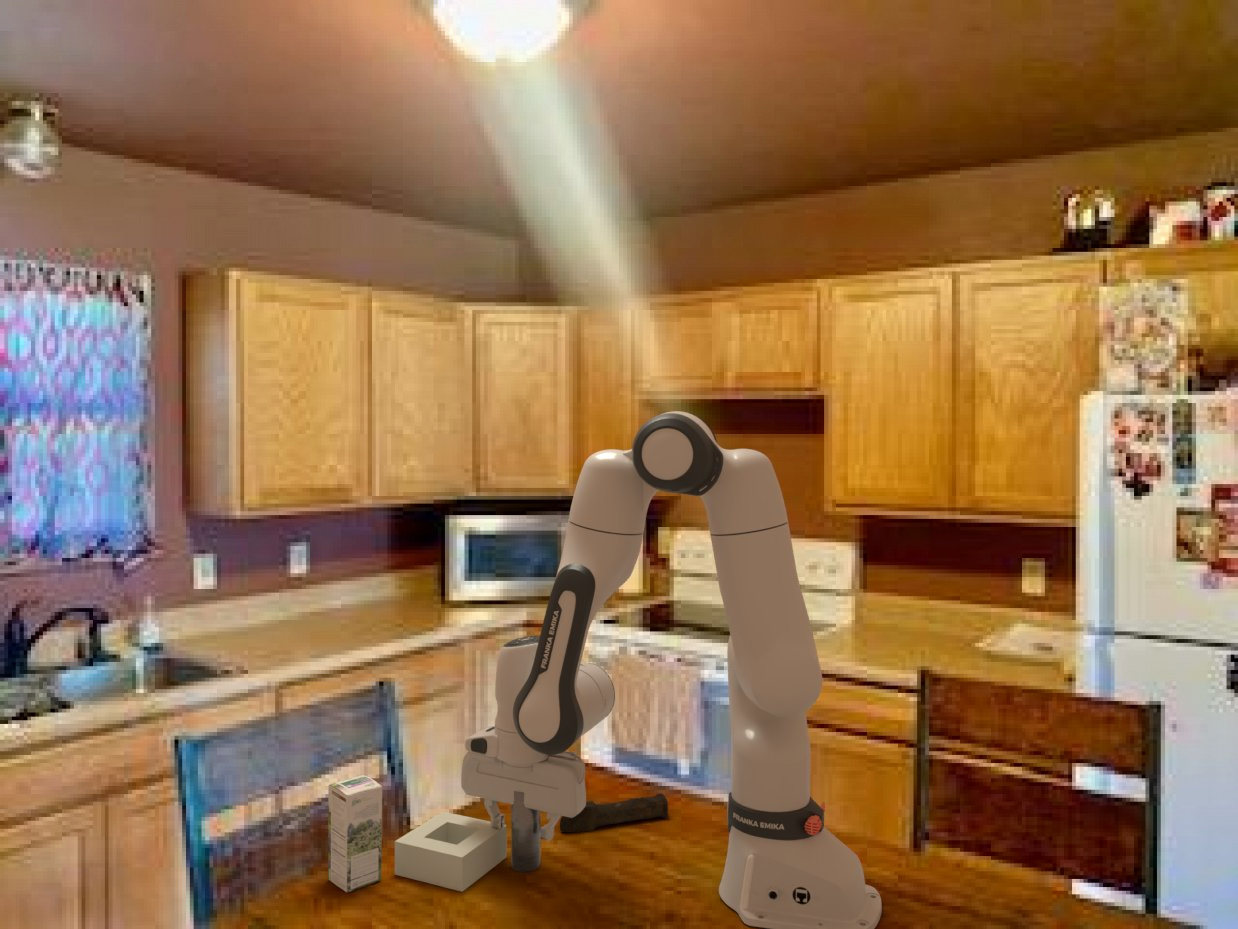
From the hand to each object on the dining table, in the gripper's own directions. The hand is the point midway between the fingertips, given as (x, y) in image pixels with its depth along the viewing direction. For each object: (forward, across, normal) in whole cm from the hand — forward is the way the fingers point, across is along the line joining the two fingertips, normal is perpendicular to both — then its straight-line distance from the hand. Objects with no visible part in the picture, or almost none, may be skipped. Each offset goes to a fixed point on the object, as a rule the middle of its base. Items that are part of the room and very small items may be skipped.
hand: (521, 832), depth 140 cm
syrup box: (+6, +19, +15) cm, 25 cm away
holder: (+5, +9, +5) cm, 12 cm away
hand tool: (+5, -7, -19) cm, 21 cm away
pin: (+5, -1, 0) cm, 5 cm away
